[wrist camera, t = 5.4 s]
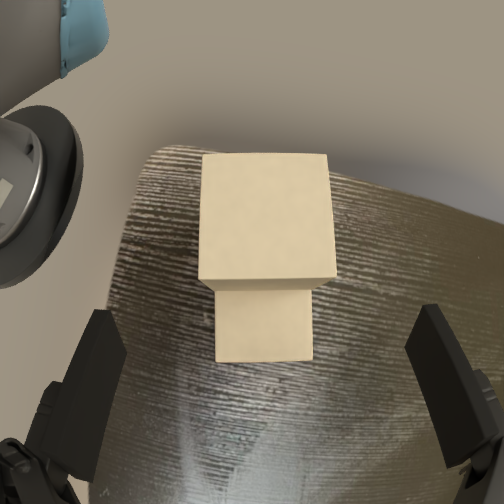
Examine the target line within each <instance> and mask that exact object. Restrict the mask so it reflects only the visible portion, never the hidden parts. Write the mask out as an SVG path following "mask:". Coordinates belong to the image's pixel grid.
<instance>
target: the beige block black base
mask: <svg viewBox="0 0 504 504" xmlns="http://www.w3.org/2000/svg"><path fill="white" fill-rule="evenodd" d="M336 277H337V270H336V253H335V238H334V225H333V213H332V202H331V192H330V182H329V172H328V164H327V156H326V154H303V153H226V154H203V155H202V172H201V194H200V220H199V260H198V279H199V280H200V281H201V282H202V283H204V284H205V285H206V286H208V287H209V288H210V289H212V290H213V291H214V292H215V361H216V362H218V363H253V362H290V361H310V360H312V359H313V342H312V296H311V290H312V289H314V288H316V287H318V286H320V285H322V284H324V283H326V282H328V281H330V280H332V279H334V278H336Z"/></svg>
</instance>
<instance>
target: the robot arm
mask: <svg viewBox="0 0 504 504" xmlns="http://www.w3.org/2000/svg"><path fill="white" fill-rule="evenodd" d="M108 39H109V28H108V23H107V18H106V14H105V9H104V4H103V0H0V116H2V115H3V114H4V113H6V112H7V111H9V110H10V109H12V108H13V107H14V106H16V105H17V104H19V103H20V102H22V101H23V100H25V99H26V98H28V97H29V96H31V95H32V94H34V93H35V92H37V91H39V90H40V89H42V88H43V87H45V86H47V85H48V84H50V83H52V82H54V81H55V80H57V79H59V78H61V79H63V78H64V77H65V76H67V74H68V72H70V71H71V70H73V69H75V68H76V67H78V66H80V65H82V64H83V63H85V62H87V61H89V60H90V59H92V58H94V57H96V56H97V55H98V54H99V53H101V52H102V51H103V49H104V47H105V46H106V44H107V42H108ZM46 174H47V153H46V149H45V146H44V144H43V142H42V140H41V139H40V138H39V137H38V136H37V135H36V134H35V133H34V132H33V131H32V130H31V129H30V128H28V127H26V126H24V125H22V124H19V123H16V122H13V121H10V120H7V119H3V118H0V249H2V248H3V247H5V246H7V245H8V244H9V243H10V242H12V241H13V240H14V239H15V238H16V237H17V236H18V235H19V234H20V232H21V231H22V230H23V229H24V227H25V226H26V224H27V223H28V221H29V220H30V218H31V216H32V215H33V213H34V211H35V209H36V207H37V205H38V202H39V200H40V197H41V194H42V191H43V188H44V185H45V180H46ZM404 348H405V350H406V352H407V355H408V357H409V360H410V362H411V365H412V367H413V370H414V373H415V375H416V378H417V380H418V383H419V386H420V388H421V391H422V394H423V396H424V399H425V402H426V405H427V408H428V410H429V413H430V416H431V419H432V422H433V425H434V428H435V431H436V434H437V437H438V440H439V444H440V447H441V450H442V453H443V457H444V460H445V463H446V467H447V469H448V468H451V467H454V466H457V465H460V464H462V463H463V462H465V461H466V460H467V459H469V458H470V459H471V463H469V464H468V465H467V466H465V467H464V468H463V469H461V471H460V472H459V474H460V475H461V474H462V473H464V472H465V471H466V470H467V471H466V473H465V474H464V478H463V481H462V484H461V486H460V488H459V491H458V493H457V495H456V498H455V500H454V502H453V504H504V412H503V409H502V407H501V405H500V403H499V401H498V398H496V394H495V392H494V390H492V386H491V383H490V381H489V379H488V377H487V376H486V375H485V374H484V373H483V372H482V371H481V370H480V369H478V370H474V371H473V370H472V368H471V366H470V364H469V362H468V360H467V358H466V356H465V354H464V352H463V350H462V348H461V346H460V344H459V342H458V340H457V339H456V337H455V335H454V333H453V331H452V329H451V328H450V326H449V324H448V322H447V320H446V319H445V317H444V315H443V313H442V312H441V310H440V308H439V307H438V305H437V304H428V305H423V306H422V308H421V311H420V313H419V315H418V318H417V320H416V322H415V325H414V327H413V329H412V332H411V334H410V336H409V338H408V340H407V342H406V345H405V347H404ZM126 355H127V351H126V349H125V347H124V344H123V342H122V339H121V337H120V334H119V332H118V329H117V327H116V324H115V322H114V319H113V316H112V314H111V311H110V310H98V309H94V311H93V313H92V316H91V318H90V320H89V322H88V324H87V326H86V328H85V330H84V333H83V335H82V337H81V340H80V342H79V344H78V346H77V348H76V351H75V353H74V355H73V358H72V360H71V362H70V365H69V367H68V370H67V372H66V375H65V377H64V379H63V382H62V383H61V382H56V381H52V382H51V383H50V385H49V386H48V387H47V388H46V389H45V390H44V393H43V395H42V398H41V401H40V404H39V406H38V408H37V413H35V416H34V419H33V421H32V424H31V427H30V430H29V433H28V435H27V439H26V441H25V444H24V445H23V444H22V443H20V442H19V441H18V440H17V439H14V438H7V439H4V440H3V441H1V442H0V504H81V503H80V502H79V500H78V498H77V496H76V494H75V492H74V490H73V488H72V486H71V484H70V482H69V481H68V480H67V478H68V474H70V475H71V476H73V477H74V478H76V479H79V480H83V481H87V482H90V483H93V480H94V475H95V471H96V466H97V462H98V457H99V453H100V449H101V445H102V440H103V436H104V432H105V428H106V425H107V421H108V417H109V413H110V409H111V406H112V402H113V399H114V395H115V392H116V388H117V385H118V381H119V378H120V374H121V371H122V368H123V364H124V361H125V358H126Z"/></svg>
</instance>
